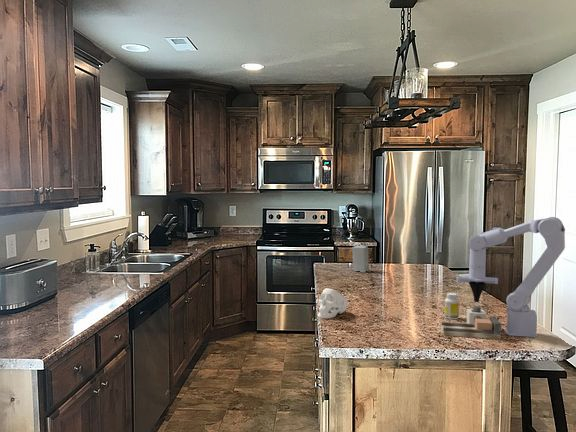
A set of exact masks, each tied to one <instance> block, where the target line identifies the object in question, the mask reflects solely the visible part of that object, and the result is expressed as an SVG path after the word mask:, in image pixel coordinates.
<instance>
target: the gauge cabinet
mask: <svg viewBox="0 0 576 432" xmlns="http://www.w3.org/2000/svg"><path fill="white" fill-rule="evenodd" d="M475 319H487V313H486V311H485V309H481V313H477V312H473V308H467V309H466V324H475Z"/></svg>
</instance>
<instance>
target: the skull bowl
mask: <svg viewBox="0 0 576 432" xmlns="http://www.w3.org/2000/svg"><path fill="white" fill-rule="evenodd" d="M318 305H319V308H318V310H319V312H318V314H317V317H318V318H321V319H323V320H324V319H332V318H335V317H336V316H337V315H338V314H342V313H344V312H345V311H346V309H347V308H348V306H349V301H348V299H347V298H346V297H345V296H344V295H343V294H342V293H340V291H337V290H335V289H333V288H327V287H326V288H324V289H323V291H322V292H321V294H320V296H319V300H318Z"/></svg>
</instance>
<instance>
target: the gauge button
mask: <svg viewBox="0 0 576 432" xmlns="http://www.w3.org/2000/svg"><path fill="white" fill-rule="evenodd" d="M472 309H473V312H477V313H481V310H482V308H481V307H480V306H472Z"/></svg>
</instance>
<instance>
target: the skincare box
mask: <svg viewBox="0 0 576 432" xmlns="http://www.w3.org/2000/svg"><path fill="white" fill-rule="evenodd" d="M368 247H369V246H367V245H365V246H364V245H355V246H352V248H351V249H352V252H351V253H352V272H353V271H360V272H359V273H367V272H369V271H368V270H370V269H369V268H370V267H369V248H368ZM366 271H367V272H366Z"/></svg>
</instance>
